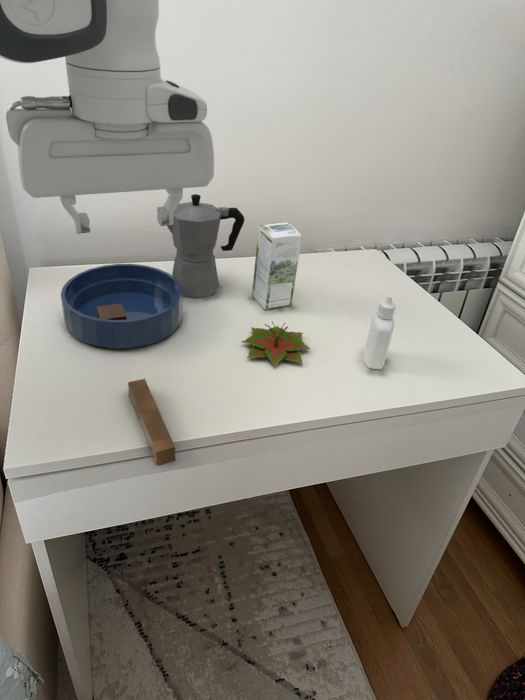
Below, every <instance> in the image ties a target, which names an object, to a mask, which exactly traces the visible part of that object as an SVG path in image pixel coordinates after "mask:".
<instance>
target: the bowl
mask: <svg viewBox="0 0 525 700" xmlns="http://www.w3.org/2000/svg"><path fill="white" fill-rule="evenodd" d="M60 299H61V306H62V307H61V308H62V313H63V319H64V323H65V325H66V326H65V327H66V329H67V330H68V332H69V333H70V334H71V335H72V336H73V337H75V338H76V339H78V340H80V341H82V342H83V343H86V344H89V345H92V346H96V347H101V348H108V349H132V348H133V349H134V348H138V347H144V346H148V345H152V344H154V343H157V342H159V341H162V340H163V339H165V338H167V337H169V336H170V335H172V334H173V333H174V332H175V331H176V330H177V329H178V328H179V327H180V325H181V322H182V320H183V296H182V288H181V285H180V284H179V282H178V281H177V279H176V278H174V277H173V276H172V274H170V273H169V272H166V271H165V270H162V269H160V268H158V267H153V266H149V265H145V264H137V263H114V264H113V263H112V264H105V265H100V266H96V267H92V268H89V269H86V270H83V271H82V272H79V273H77V274H76V275H74V276H73V277H70V279H68V280H67V281H66V283H65V284H64V285H63V286H62V289H61V292H60ZM113 304H122V306H123V309H124V311H125V314H126V317H127V320H108V319H99V318H97V310H96V307H98V306H106V305H113Z"/></svg>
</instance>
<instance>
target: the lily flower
mask: <svg viewBox="0 0 525 700" xmlns="http://www.w3.org/2000/svg"><path fill="white" fill-rule="evenodd" d="M271 323H272V324H271V325H273V327H271V326H270V325H269V324H266V323H264V326H266V327H268V329H266V328H261V327H252V326H251V334H252V335H250V336H248V337H247V338H245V340H242V341H240V343H244V344H248V345H252V347H251V348H250V349H249V351H248V355H247V357H246V359H253V358H256V359H257V358H268V359H269V361H270V363H272V364H273V367H274V368H276V366H277V365H278V364H279V363H280V362H281V361H282V360H286V361H289V362H294V363H298V364H301V365H304V363H303V359H302V354H301V353H300V351H299V350H311V347H310V346H308V345H307V344H305V342H304V341H303V340H301V339H302V337H303V334H304V332H298V331H297V332H295V331H287V329H288V328H289V326H285V325H286V322H284V323H283V325H282V326H281V327H280V326H279V325H276V326H275V324H274V322H273V321H272V320H271ZM284 326H285V327H284Z"/></svg>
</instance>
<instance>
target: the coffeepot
mask: <svg viewBox="0 0 525 700" xmlns="http://www.w3.org/2000/svg"><path fill="white" fill-rule="evenodd" d="M201 197H202V196H201V195H200V194H197V193H196V194H191V195H190V198H191V201H188V202H182V203H181V202H180V203H179V204H178V206H177V208H176V209H175V211H173V225H167V226H166V227H167V229H168V230H169V232H170V233H171V236H172V241H173V246H174V247H175V249H176V254H175V257H174V261H173V266H172V274H171V275H172V276H173V277H174V278H176V279H177V281H178V282H179V284H180V285H181V288H182V297H184V298H188V299H189V298H190V299H201V298H207V297H210V296H212V295H214V294H215V293H216V292H217V291H218V287H219V285H220V283H219V277H218V270H217V263H216V257H215V255H214V249H215V248H216V245H217V240H218V234H219V230H220V225H221V221H222V220H229V219H234V221H233V224H232V227H231V232H230V234H229V235H228V241H227V244H226V245H221V246H220V248H221V251H223V252H228V251H232V250H234V247H235V244H236V242H237V239H238V237H239V235H240V233H241V230H242V228H243V226H244V223H245V217H244V215H243V213H242V212H241V210H239V209H238V208H237V207H226V206H224V207H216V206H215V205H213V204H210V203H205V202H204V203H203V202H201ZM157 216H158V214H157ZM157 216H156V217H157Z"/></svg>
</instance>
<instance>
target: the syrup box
mask: <svg viewBox="0 0 525 700" xmlns="http://www.w3.org/2000/svg"><path fill="white" fill-rule="evenodd" d="M257 229H258V231H257V239H256V249H255V250H256V251H255V259H254V260H255V261H254V270H253V271H254V272H253V282H252V289H251V290H252V292H251V296H252V297H253V298H254V300H256V302H257V303H258V304H259V305H260V306H261V307H262V308H263V309H264V310H265V311H267V310H274V309H278V308H285V307H290V306H292V304H293V298H294V291H295V286H296V278H297V273H298V272H297V271H298V264H299V260H300V259H299V258H300V254H301V253H300V251H301V247H302V246H301V245H302V239H303V235H302V234H301V233H300V231H298V230H297V229H296V228H295V227H294V226H293V225H292V224H290V223H288V222H287V221H286V222H278V223H269V224H260V225H258V228H257Z"/></svg>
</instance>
